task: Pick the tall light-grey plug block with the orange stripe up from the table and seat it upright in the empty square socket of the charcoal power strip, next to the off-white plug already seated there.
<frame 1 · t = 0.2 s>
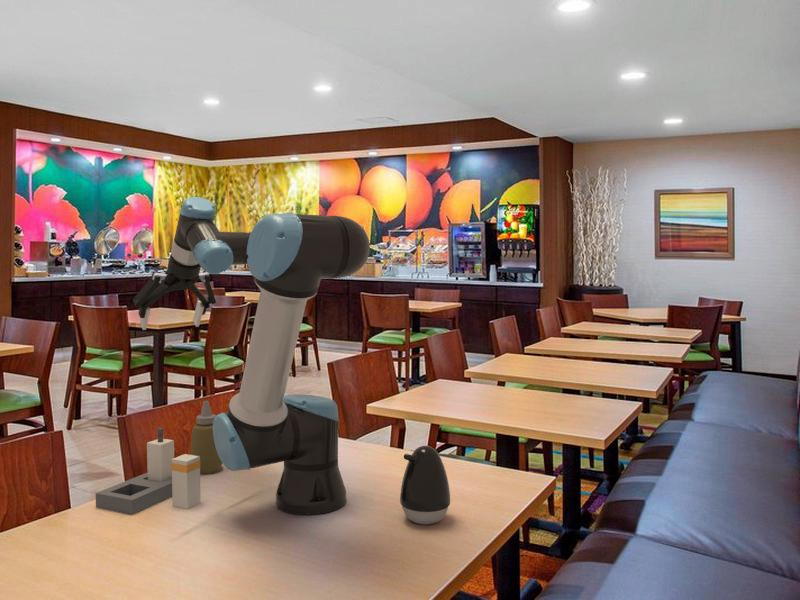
hand: (169, 325, 173), 35 cm above the table, tool tilted 35°, fingers open, 13 cm apart
plug: (186, 508, 142), on the table
twin plug: (161, 489, 150), resting on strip
squeeze bottle: (207, 474, 165), on the table
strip: (146, 501, 146), on the table
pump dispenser: (424, 520, 137), on the table
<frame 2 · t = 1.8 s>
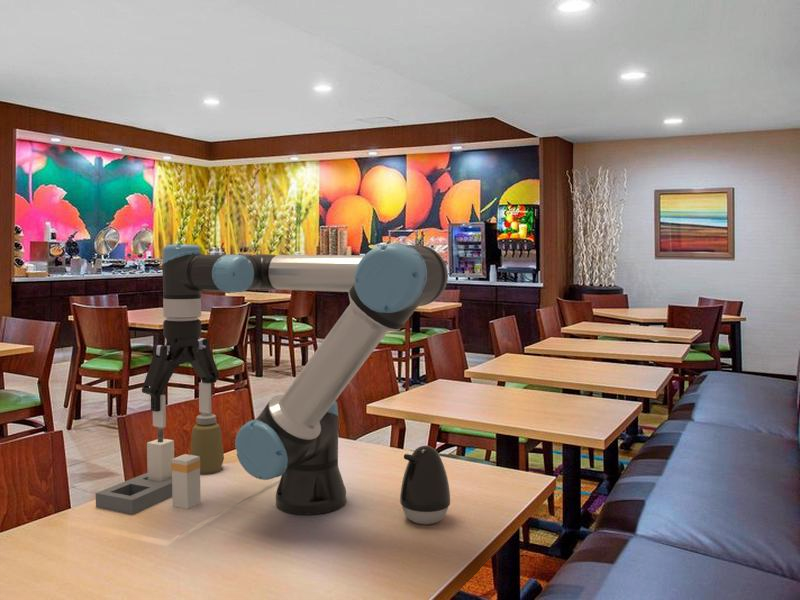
hand: (183, 419, 142), 19 cm above the table, tool pointing down, fingers open, 13 cm apart
nothing on the table moved.
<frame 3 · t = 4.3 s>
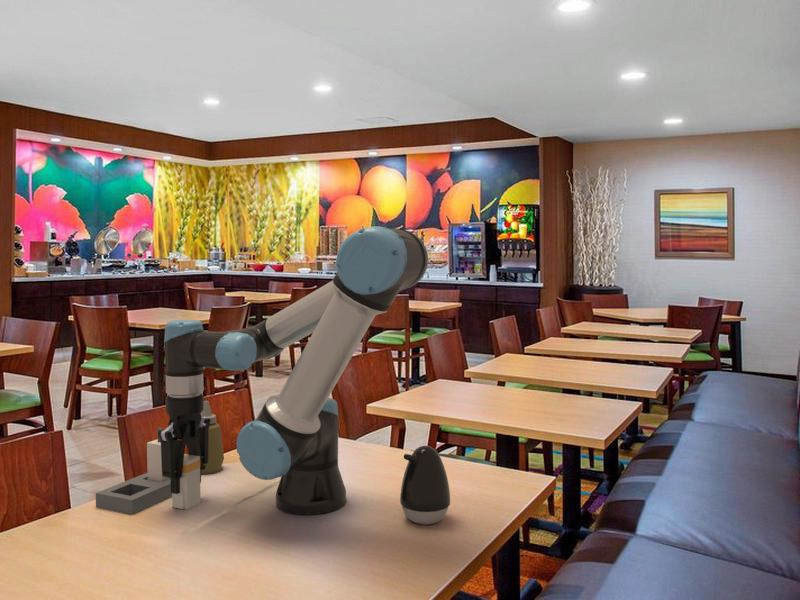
hand: (186, 503, 142), 1 cm above the table, tool pointing down, fingers closed on plug, 4 cm apart
plug: (186, 508, 142), on the table, touching gripper
everything else where it was.
when the fingers open (6 cm above the table, at t = 9.0 s): plug drops 4 cm, resting on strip.
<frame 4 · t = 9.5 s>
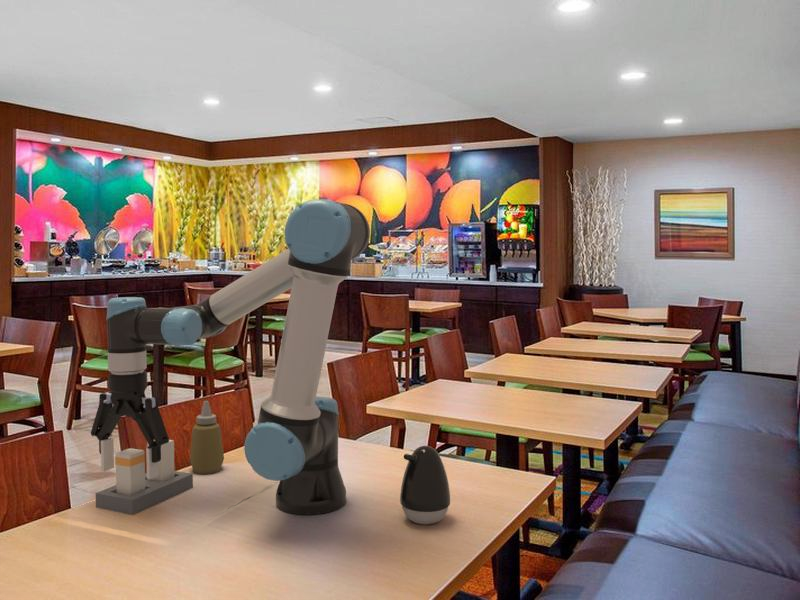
hand: (130, 473, 142), 8 cm above the table, tool pointing down, fingers open, 12 cm apart
plug: (131, 502, 142), point 1 cm above the table, touching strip
everything else where it was.
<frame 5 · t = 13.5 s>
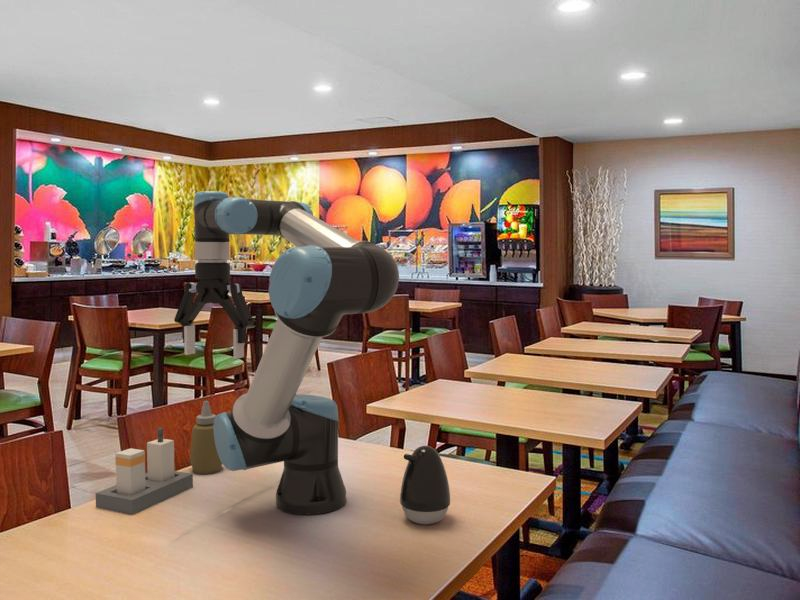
hand: (213, 356, 152), 31 cm above the table, tool pointing down, fingers open, 13 cm apart
nothing on the table moved.
at the end: plug 0.1 cm from the target spot on the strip, point 1.1 cm above the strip's base; plug tilted 0°; the gripper is holding nothing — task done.
